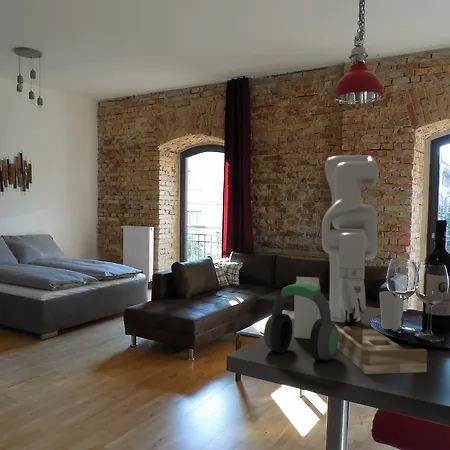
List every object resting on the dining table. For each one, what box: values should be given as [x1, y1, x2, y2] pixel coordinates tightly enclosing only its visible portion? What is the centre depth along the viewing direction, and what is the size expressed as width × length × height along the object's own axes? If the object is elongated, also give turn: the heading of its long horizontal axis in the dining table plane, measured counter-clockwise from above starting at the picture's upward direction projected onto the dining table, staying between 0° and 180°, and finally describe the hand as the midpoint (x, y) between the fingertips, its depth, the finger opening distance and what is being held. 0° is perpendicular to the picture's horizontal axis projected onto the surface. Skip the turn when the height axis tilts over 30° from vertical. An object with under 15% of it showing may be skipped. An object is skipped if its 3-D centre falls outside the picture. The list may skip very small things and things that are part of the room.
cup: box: [378, 290, 405, 330], centre depth 155 cm, size 8×8×12 cm
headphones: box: [263, 283, 338, 361], centre depth 127 cm, size 19×11×20 cm, turn 58°
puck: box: [342, 326, 364, 344], centre depth 132 cm, size 6×6×4 cm
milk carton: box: [293, 276, 321, 340], centre depth 146 cm, size 7×7×19 cm
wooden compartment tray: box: [336, 325, 428, 375], centre depth 130 cm, size 32×16×6 cm, turn 5°
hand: (350, 333), depth 137 cm, fingers closed
